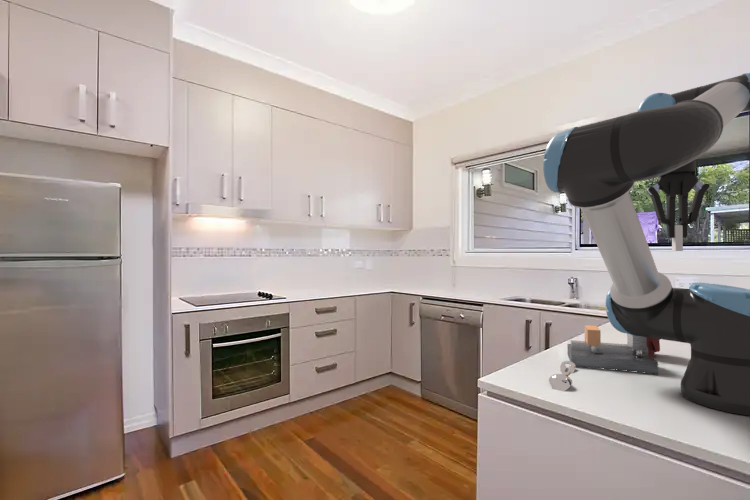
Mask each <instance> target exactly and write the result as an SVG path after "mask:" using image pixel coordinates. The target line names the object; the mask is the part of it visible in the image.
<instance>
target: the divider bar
mask: <svg viewBox="0 0 750 500" xmlns="http://www.w3.org/2000/svg"><path fill="white" fill-rule="evenodd" d="M626 334H627V333H626ZM626 336H627V337H626V338H627V340H626V341H627V343H626V344H625V343H613V342H601V346H599V345H596V351H599V352H611V353H624V354H636V356H637V357H642V355H648V347H647V337H642V336H633V335H631V334H627V335H626ZM570 344H571V349H575V350H587V351H591V345H588V344H587V342H586V341H585V340H572V339H570Z"/></svg>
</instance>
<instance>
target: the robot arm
mask: <svg viewBox="0 0 750 500" xmlns="http://www.w3.org/2000/svg"><path fill="white" fill-rule="evenodd" d="M743 112H744V113H745V112H750V72H746V73H742V74H740V75H737V76H734V77H731V78H726V79H722V80H719V81H716V82H713V83H712V82H711V83H709V84H705V85H701V86H697V87H693V88H690V89H686V90H682V91H679V92H676V93H675V92H674V93H671V94H670V93H669V94H668V93H666V92H657V93H656V92H655V93H652V94H650V95H649V96H647V97H645V98H644V99H643V100H642V101H641V102H640V104H639V106H638V109H637V111H634V112H630V113H628V114H625V115H621V116H617V117H613V118H610V119H605V120H602V121H601V120H600V121H598V122H594V123H590V124H586V125H582V126H579V127H578V126H574V127H572V128H570V129H568V130H564V131H562V132H558V133H556V134H555V135H554V136H553V137H552V138H551V139H550V140H549V141H548V143H547V145H546V148H545V150H544V155H543V161H542V162H543V165H542V166H543V167H542V171H543V177H544V181H545V184H546V186H547V188H548V189H549V191H551V192H553V193H558V194H561V193H564V194H565V196H566V197H567V199H568V203H569V204H570V205H571V206H572V207H575V208H578V209H580V210H581V212H582V213H583V216H584V218H585V220H586V222H587V225H588V227H589V230H590V231H591V235H592V237H593V240H594V242H595V244H596V245H597V248H598V251H599V253H600V255H601V258H602V260H603V262H604V265H605V267H606V269H607V271H608V274H609V277H610V278H611V281H612V284H611V286H610V288H609V289H608V291H607V294H606V298H605V307H606V316H607V318H608V321H609V322H610V324H611V326H612V327H613V328H614V329H615V330H617V331H618V332H620V333H621V334H622V333H623V334H631V335H633V336H642V337H649V338H656V339H660V340H665V341H669V342H670V341H671V342H678V343H679V342H680V343H684V344H689V345H690V359H689V362H688V364H687V366H686V369H685V370H684V374H683V376H682V378H681V381H680V395H681V396H682V397H684V398H685V399H686V400H689V401H691V402H694V403H695V404H698V405H701V406H703V407H706V408H711V409H713V410H717V411H722V412H726V413H732V414H737V415H742V416H750V289H749V288H744V287H739V286H732V285H726V284H718V283H709V282H708V283H707V282H691V284H690V286H689V287H688V288H680V287H673V285H672V282H671V280H670V279H669V277H668V276H667V275H666V274H664V273H661V272H659V271H658V268H657V266H656V263H655V260H654V258H653V257H654V256H653V255H652V251H651V249H650V246H649V243H648V241H647V239H646V235H645V233H644V229H643V226H642V224H641V222H640V219H639V216H638V213H637V211H636V208H635V205H634V202H633V199H632V197H631V194H630V191H631V190H632V188H634V186H635V183H637V182H643V181H644V182H645V181H649V180H652V179H656V178H657V180H656V182H655V184H654V185H652V186H650V187H648V188H647V189H646V193H647V194H648V195H649V197H650V198H651V201H652V205H653V208H654V212H655V214H656V218H657V221H658V223H659V224H662V225H665V226H666V228H667V229H666V230H667V238H668V239H671V251H672V252H683V251H684V246H683V244H684V243H683V242H684V241H683V238H685V239H686V238H688V225H689V224H692V223H695V222H697V220H698V217H699V213H700V210H701V206H702V203H703V200H704V196H705V193H706V192H707V190H708V189H709V188H710V184H709V183H703V182H701V181H699V177H697V175H696V174H697V173H696V172H697V169H696V168H697V166H696V159H698V158H700V157H701V156H702V155H704V154H705V153H706V152H708V151H709V150H710V149H711V148H712V147H713V146H714V145H716V143H717V142H718V141H719V139H720V138H721V136H722V135H723V130H724V128H726V126H727V125H728V124H730V123H731V122H732V121H733V120H734V119H735V118H736V117H737V116H738V115H740V114H741V113H743ZM693 188H694V191H695V193H694V195H693V198H692V199H693V200H692V202H691V205H690V209H689V208H688V207H689V203H688V201H689V200H688V199H689V193H690V192H691V191H692V189H693ZM660 190H661V191H662V193H663V194H665V200H666V212H665V209H664V207H663V206H664V205H663V202H662V200H661V197H660V194H659V192H660ZM676 198H677V199H678V224H676ZM665 213H666V214H665Z"/></svg>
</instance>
